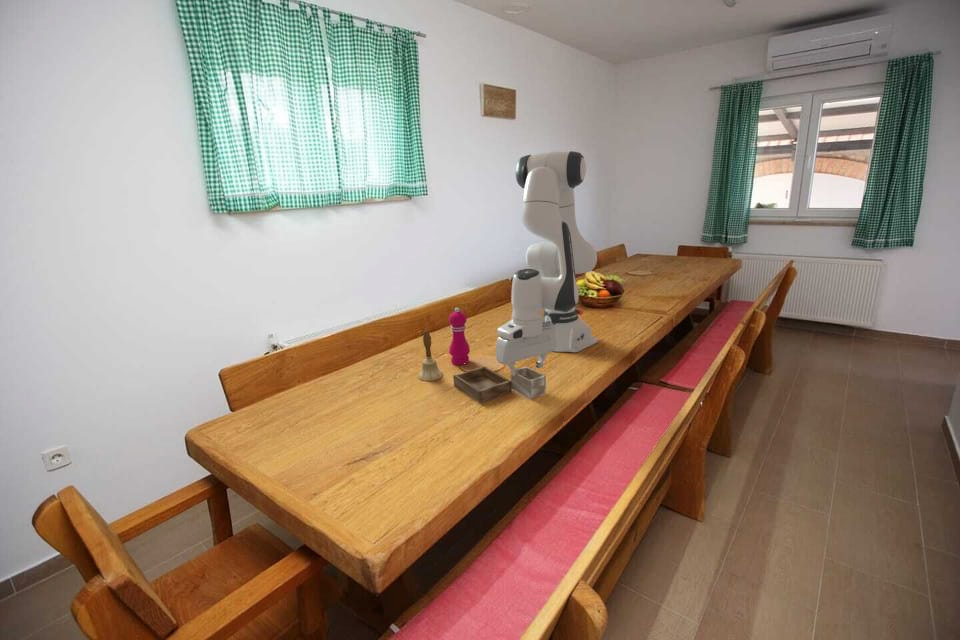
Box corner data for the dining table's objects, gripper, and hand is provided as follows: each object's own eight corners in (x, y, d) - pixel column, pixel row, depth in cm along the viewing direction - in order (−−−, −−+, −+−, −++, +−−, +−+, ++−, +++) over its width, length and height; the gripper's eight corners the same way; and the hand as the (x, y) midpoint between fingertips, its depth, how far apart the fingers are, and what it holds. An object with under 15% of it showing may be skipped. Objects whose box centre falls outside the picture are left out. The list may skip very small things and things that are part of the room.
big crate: (484, 376, 152) (484, 366, 151) (511, 391, 140) (511, 381, 139) (454, 385, 146) (453, 375, 145) (479, 403, 134) (479, 391, 133)
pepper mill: (467, 366, 161) (464, 310, 155) (447, 365, 162) (444, 310, 156) (472, 358, 167) (469, 305, 161) (452, 357, 169) (449, 304, 163)
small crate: (526, 384, 145) (526, 366, 144) (545, 394, 138) (545, 375, 136) (511, 389, 142) (510, 371, 141) (530, 400, 135) (529, 381, 133)
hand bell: (439, 381, 150) (435, 334, 145) (414, 380, 151) (410, 334, 146) (445, 371, 157) (442, 326, 153) (422, 370, 159) (418, 326, 154)
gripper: (547, 317, 142) (546, 360, 146) (492, 330, 131) (493, 375, 135) (561, 322, 137) (560, 366, 141) (505, 335, 126) (506, 382, 130)
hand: (527, 371), depth 138 cm, fingers open, 8 cm apart
